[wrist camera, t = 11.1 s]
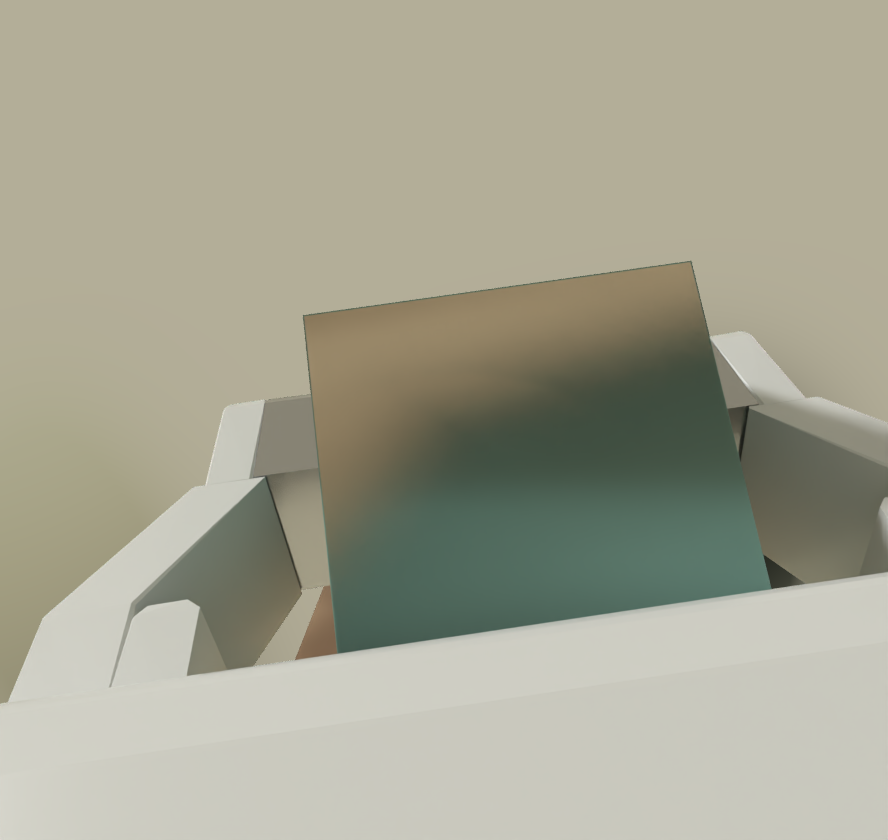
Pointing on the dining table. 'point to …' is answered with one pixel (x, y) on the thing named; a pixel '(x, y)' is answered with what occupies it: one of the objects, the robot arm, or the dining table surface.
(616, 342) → the oak bar
